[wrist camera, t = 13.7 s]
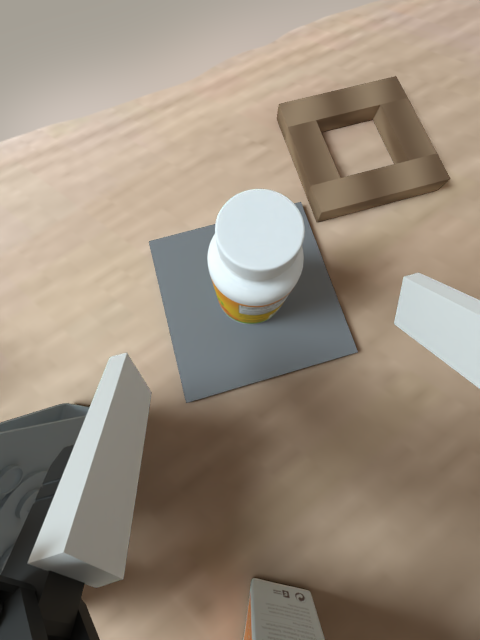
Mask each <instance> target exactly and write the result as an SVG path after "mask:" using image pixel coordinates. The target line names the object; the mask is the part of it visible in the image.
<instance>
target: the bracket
mask: <svg viewBox="0 0 480 640" xmlns="http://www.w3.org/2000/svg"><path fill="white" fill-rule="evenodd" d="M89 408H90V407H87V406H81V405H75V404H69V403H64V404H59V405H56V406H53V407H49V408H46V409H43V410H40V411H36V412H33V413H30V414H27V415H23V416H20V417H17V418H14V419H10V420H7V421H4V422H1V423H0V575H1V573H2V571H3V569H4V567H5V565H6V562H7V560H8V558H9V556H10V554H11V551H12V549H13V547H14V545H15V543H16V540H17V538H18V536H19V534H20V532H21V529H22V527H23V525H24V523H25V520H26V518H27V516H28V514H29V512H30V509H31V507H32V505H33V504H34V503H35V501H36V500H35V498H36V496H37V494H38V492H39V490H40V487H42V486H43V484H42V483H43V481H44V479H45V476H46V474H47V472H48V470H49V468H50V465H51V464H52V463H53V461H54V460H55V459H56V457H57V456H58V455H59V453H60V452H61V451H62V449H63V448H64V447H67V446H71V445H74V444H75V443H76V440H77V438H78V435H79V433H80V430H81V428H82V425H83V423H84V420H85V418H86V415H87V413H88V410H89Z"/></svg>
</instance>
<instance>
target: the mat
mask: <svg viewBox="0 0 480 640" xmlns="http://www.w3.org/2000/svg"><path fill="white" fill-rule="evenodd" d="M295 205H296V207H297V208H298V210H299V211H300V213H301V215H302V218H303V221H304V227H305V235H304V240H303V244H302V248H303V255H304V261H303V269H302V272H301V275H300V277H299V280H298V282H297V283H296V285H295V287H294V288H293V289H292V291H291V292H290V294H289V295H288V297H287V298H286V300H285V301H284V303H283V304H282V305H281V307H280V309H279V310H278V311H277V312H276V313H275V314H274V315H273V316H272V317H271V318H270V319H268V320H266V321H264V322H262V323H259V324H243V323H239V322H237V321H235V320H233V319H231V318H230V317H229V316H228V315H227V314H226V313H225V312H224V311H223V309H222V308H221V306H220V304H219V301H218V298H217V295H216V292H215V289H214V286H213V283H212V279H211V276H210V273H209V269H208V261H207V256H208V249H209V245H210V242H211V240H212V238H213V236H214V234H215V224H214V225H210V226H206V227H202V228H198V229H195V230H191V231H187V232H183V233H179V234H175V235H171V236H168V237H164V238H160V239H156V240H152V241H149V245H150V249H151V253H152V258H153V262H154V266H155V271H156V275H157V279H158V284H159V288H160V292H161V296H162V301H163V305H164V309H165V314H166V318H167V322H168V327H169V331H170V335H171V340H172V344H173V348H174V353H175V357H176V361H177V365H178V370H179V374H180V378H181V383H182V387H183V391H184V396H185V400H186V403H188V402H191V401H194V400H198V399H201V398H205V397H208V396H211V395H215V394H218V393H221V392H225V391H228V390H232V389H235V388H238V387H242V386H245V385H248V384H252V383H255V382H259V381H262V380H265V379H269V378H272V377H275V376H279V375H282V374H286V373H289V372H292V371H296V370H299V369H302V368H306V367H309V366H312V365H316V364H319V363H323V362H326V361H329V360H333V359H336V358H339V357H343V356H346V355H350V354H353V353H356V352H358V351H357V348H356V346H355V343H354V340H353V338H352V335H351V333H350V330H349V327H348V325H347V322H346V319H345V317H344V314H343V312H342V309H341V306H340V304H339V301H338V298H337V296H336V293H335V290H334V288H333V285H332V283H331V280H330V277H329V275H328V272H327V269H326V267H325V264H324V262H323V259H322V256H321V254H320V251H319V248H318V246H317V243H316V240H315V238H314V235H313V233H312V230H311V227H310V225H309V222H308V219H307V217H306V214H305V212H304V209H303V206H302V204H301V202H298V203H295Z"/></svg>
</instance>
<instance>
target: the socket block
mask: <svg viewBox="0 0 480 640" xmlns="http://www.w3.org/2000/svg"><path fill="white" fill-rule="evenodd" d="M372 119H373V121H374V123H375V125H376V127H377V129H378V131H379V133H380V135H381V137H382V139H383V141H384V144H385V146H386V148H387V150H388V152H389V154H390V156H391V158H392V160H393V162H394V164H393V165H390V166H386V167H382V168H378V169H374V170H370V171H366V172H362V173H358V174H355V175H351V176H347V177H343V178H340V176H339V173H338V171H337V168H336V166H335V164H334V161H333V159H332V157H331V154H330V152H329V150H328V147H327V145H326V143H325V140H324V138H323V136H322V133H321V132H324V131H328V130H332V129H336V128H340V127H344V126H348V125H352V124H356V123H360V122H364V121H368V120H372ZM277 121H278V124H279V126H280V129H281V131H282V134H283V137H284V139H285V142H286V144H287V147H288V149H289V152H290V155H291V157H292V160H293V162H294V165H295V167H296V170H297V173H298V175H299V178H300V180H301V183H302V186H303V188H304V191H305V193H306V196H307V198H308V201H309V204H310V206H311V209H312V211H313V214H314V217H315V219H316V222H320V221H323V220H327V219H331V218H335V217H338V216H342V215H346V214H350V213H353V212H357V211H361V210H365V209H369V208H372V207H376V206H380V205H384V204H387V203H391V202H395V201H399V200H402V199H406V198H410V197H414V196H418V195H421V194H425V193H429V192H433V191H436V190H438V189H439V188H441V187H442V186H443V185H444V184H445V183H446V182H447V181H448V180H449V179H450V177H449V175H448V173H447V171H446V170H445V168H444V166H443V164H442V162H441V160H440V158H439V156H438V154H437V152H436V151H435V149H434V147H433V145H432V143H431V141H430V139H429V137H428V135H427V134H426V132H425V130H424V128H423V126H422V124H421V122H420V120H419V118H418V117H417V115H416V113H415V111H414V109H413V107H412V105H411V103H410V101H409V99H408V98H407V96H406V94H405V92H404V90H403V88H402V86H401V84H400V82H399V81H398V79H397V77H396V76H395V77H391V78H387V79H382V80H378V81H374V82H370V83H366V84H361V85H357V86H353V87H349V88H344V89H340V90H336V91H332V92H328V93H323V94H319V95H315V96H311V97H306V98H302V99H298V100H294V101H290V102H285V103H281V104H279V107H278V114H277Z"/></svg>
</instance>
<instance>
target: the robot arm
mask: <svg viewBox="0 0 480 640" xmlns="http://www.w3.org/2000/svg"><path fill="white" fill-rule="evenodd" d="M394 324H395V325H396V326H397V327H399V328H400V329H401V330H403V331H404V332H405V333H407V334H408V335H409V336H411V337H412V338H413V339H415V340H416V341H417V342H419V343H420V344H421V345H423V346H424V347H425V348H427V349H428V350H429V351H430V352H432V353H433V354H434V355H436V356H437V357H438V358H440V359H441V360H442V361H444V362H445V363H446V364H448V365H449V366H450V367H452V368H453V369H454V370H456V371H457V372H458V373H460V374H461V375H462V376H464V377H465V378H466V379H467V380H469V381H470V382H471V383H473V384H474V385H475V386H477V387H478V388H479V389H480V300H478V299H476V298H474V297H471V296H469V295H467V294H465V293H463V292H460V291H458V290H456V289H454V288H452V287H449V286H447V285H445V284H443V283H441V282H438V281H436V280H434V279H432V278H430V277H427V276H425V275H423V274H421V273H415V274H412V275H408V276H405V277H403V282H402V287H401V292H400V297H399V302H398V307H397V311H396V316H395V321H394ZM151 394H152V392H151V390H150V389H149V387H148V386H147V384H146V382H145V381H144V379H143V378H142V376H141V374H140V373H139V371H138V370H137V368H136V366H135V365H134V363H133V362H132V360H131V358H130V357H129V355H128V353H123V354H120V355H116V356H113V357H110V358H109V360H108V363H107V365H106V368H105V370H104V373H103V375H102V378H101V380H100V383H99V385H98V388H97V390H96V393H95V395H94V398H93V400H92V403H91V405H90V408H89V410H88V413H87V415H86V418H85V420H84V423H83V425H82V428H81V430H80V433H79V435H78V438H77V440H76V443H75V444H74V445H71V446H67V447H64V448H63V449H62V451H61V452H60V453H59V455H58V456H57V457H56V459H55V460H54V461H53V463H52V464H51V465H50V468H49V470H48V472H47V474H46V476H45V479H44V481H43V483H42V484H43V486H42V487H40V490H39V492H38V494H37V496H36V498H35V500H36V501H35V503H34V504H33V505H32V507H31V509H30V512H29V514H28V516H27V518H26V520H25V523H24V525H23V527H22V529H21V532H20V534H19V536H18V538H17V540H16V543H15V545H14V547H13V549H12V551H11V554H10V556H9V558H8V560H7V562H6V565H5V567H4V569H3V571H2V573H1V575H0V640H100V639H99V637H98V634H97V632H96V629H95V627H94V624H93V622H92V619H91V617H90V614H89V612H88V609H87V607H86V604H85V603H84V602H83V601H82V599H81V596H82V591H83V587H84V584H86V585H89V586H92V587H95V588H98V587H101V586H104V585H107V584H110V583H113V582H116V581H119V580H123V579H124V572H125V566H126V559H127V552H128V546H129V539H130V533H131V526H132V519H133V513H134V506H135V500H136V493H137V487H138V480H139V473H140V467H141V460H142V454H143V447H144V440H145V434H146V427H147V421H148V414H149V407H150V401H151Z"/></svg>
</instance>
